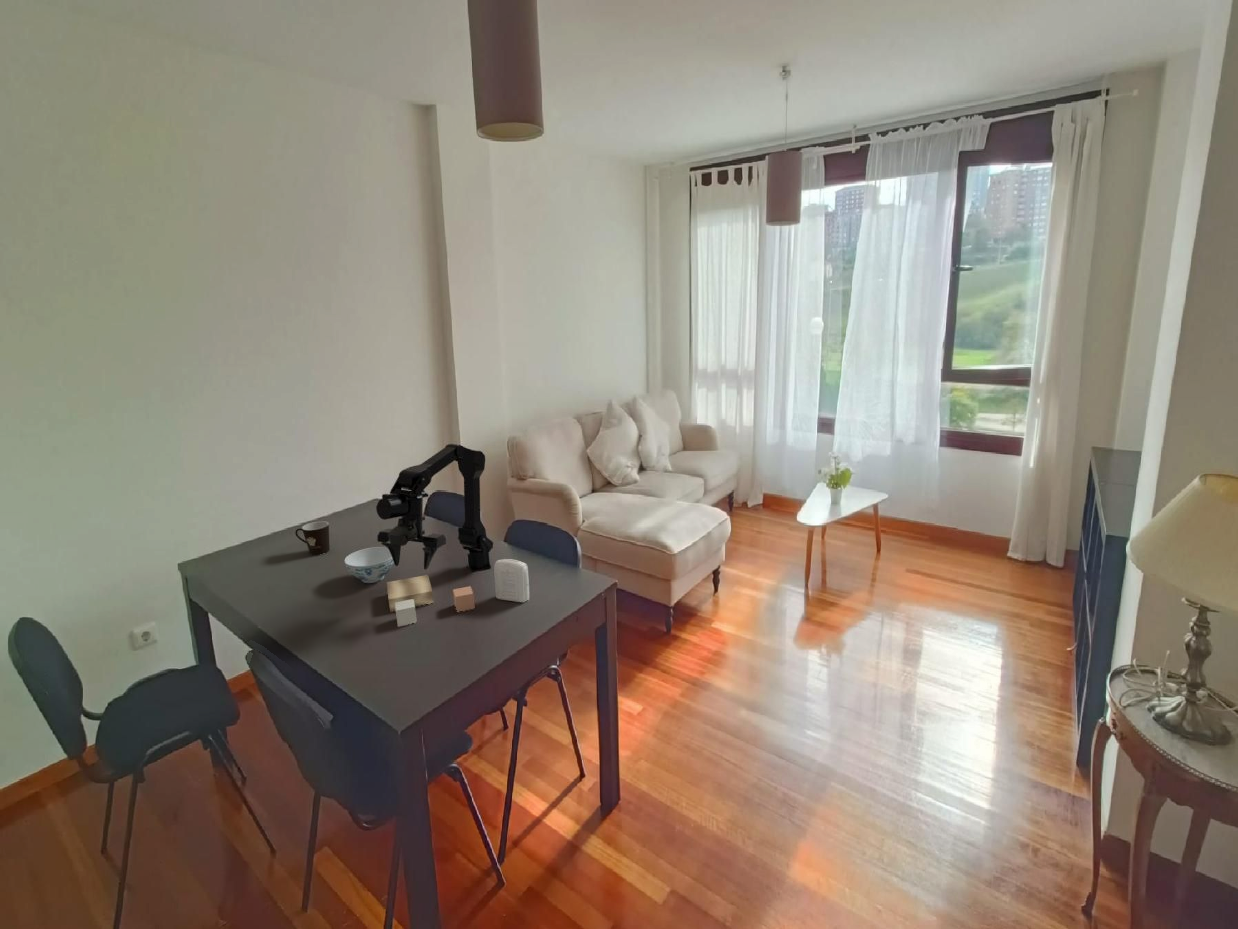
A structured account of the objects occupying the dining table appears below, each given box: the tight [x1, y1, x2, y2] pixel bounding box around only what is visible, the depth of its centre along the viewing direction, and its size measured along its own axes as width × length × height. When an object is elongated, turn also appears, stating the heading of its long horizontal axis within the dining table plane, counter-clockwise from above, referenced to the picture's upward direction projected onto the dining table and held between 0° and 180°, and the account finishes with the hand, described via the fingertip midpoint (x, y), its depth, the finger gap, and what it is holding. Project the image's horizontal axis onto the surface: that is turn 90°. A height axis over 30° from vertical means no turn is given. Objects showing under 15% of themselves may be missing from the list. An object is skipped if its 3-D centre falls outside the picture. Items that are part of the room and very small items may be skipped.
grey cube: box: [395, 599, 418, 628], centre depth 170 cm, size 5×5×5 cm
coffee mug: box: [294, 520, 330, 556], centre depth 219 cm, size 12×9×10 cm
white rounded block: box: [493, 558, 530, 603], centre depth 180 cm, size 10×4×12 cm, turn 73°
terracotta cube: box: [452, 585, 476, 613], centre depth 176 cm, size 5×5×5 cm
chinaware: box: [343, 546, 394, 584], centre depth 196 cm, size 15×15×8 cm
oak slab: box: [386, 574, 435, 613], centre depth 182 cm, size 12×12×4 cm
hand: (411, 567), depth 176 cm, fingers open, 9 cm apart
